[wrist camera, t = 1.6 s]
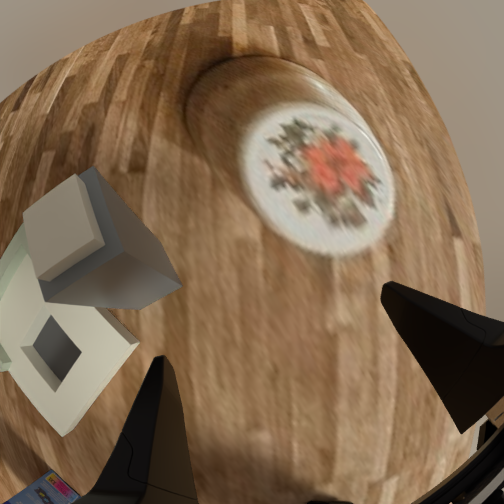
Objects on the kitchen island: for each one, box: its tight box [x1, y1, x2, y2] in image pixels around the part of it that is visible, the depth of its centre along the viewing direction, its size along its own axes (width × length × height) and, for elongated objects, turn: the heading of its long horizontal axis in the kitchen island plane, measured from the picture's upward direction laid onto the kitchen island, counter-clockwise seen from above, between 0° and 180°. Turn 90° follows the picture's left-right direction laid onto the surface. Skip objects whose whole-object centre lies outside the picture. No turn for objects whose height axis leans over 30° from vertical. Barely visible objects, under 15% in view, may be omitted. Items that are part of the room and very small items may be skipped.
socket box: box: [0, 222, 140, 437], centre depth 19 cm, size 16×14×4 cm
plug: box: [23, 166, 183, 310], centre depth 16 cm, size 4×4×15 cm
